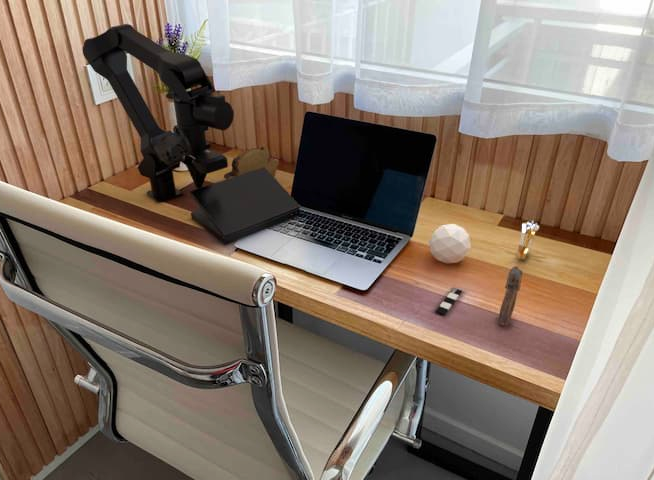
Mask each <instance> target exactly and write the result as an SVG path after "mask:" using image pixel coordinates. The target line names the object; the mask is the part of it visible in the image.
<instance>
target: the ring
mask: <svg viewBox="0 0 654 480" xmlns="http://www.w3.org/2000/svg"><path fill="white" fill-rule="evenodd" d="M534 221H535V220H533V219H532V220H531V221H529V220H527V222H522V224H521V227H522V228H521V236H520V239H519V240H520V241H519V245H518V249H517V255H516V256H517V259H520V260H525V259H526V257H527V255H528V253H529V251H530V249H531V247H532V245H533V241H534V238H535V234H536V232H537V231H538V230H539V229H540V225H538V223H537V222H535V223H534ZM526 234H527V235H526ZM526 236H527V239H526ZM525 240H526V241H525Z"/></svg>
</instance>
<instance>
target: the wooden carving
mask: <svg viewBox="0 0 654 480" xmlns="http://www.w3.org/2000/svg"><path fill="white" fill-rule="evenodd" d="M279 164H280V160H279V159H277V158H275V157H272V156H271V153H270V151H269V148H267V147H264V146H262V147H260V148H258V147H252V148H248V149H247V150H245V151H243V152H241V153H240V154H238V156H236V157H234V158H232V161H231V171H229V172H226V173H225V174H223V178H224V180H226V179H229V178H232V177H235V176H238V175H241V174H244V173H247V172H250V171H253V170H256V169H259V168H262V167H265V168H266V169H267V170H268V171H269V172H270V174H271V175H272V176H273V177H275V176H276V173H277V169H278V167H279Z"/></svg>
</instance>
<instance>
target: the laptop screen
mask: <svg viewBox="0 0 654 480" xmlns="http://www.w3.org/2000/svg"><path fill="white" fill-rule="evenodd" d="M189 195H190V196H191V198H192V199H193V200H194V201H195V203H196V204H197V205H198V206H199V207H200V209H202V210H203V211H204V212H205V214H206V215H207V216H208V217H209V219H210V220H211V221H212V222H213V224H214V225H215V226H216V227H217V229H218V230H219V231H220V232H221V234H222V235H223V236H224V237H227V236H230V235H232V234H235V233H238V232H240V231H243V230H245V229H248V228H250V227H253V226H255V225H258V224H261V223H263V222H266V221H268V220H271V219H273V218H276V217H279V216H281V215H284V214H286V213H289V212H291V211H294V210H296V209H300V208H301V205H300V204H299V203H298V202H297V200H296V199H294V197H293V196H292V195H291V194H290V193H289V192H288V191H287V190H286V189H285V188H284V187H283V185H282V184H281V183H280V182H279V181H278V180H277V178H276V177H275V176H272V175H271V174H270V172H269V171H268V170H267V169H266V168H265V167H262V168H259V169H256V170H253V171H250V172H247V173H244V174H241V175H238V176H235V177H232V178H229V179H224V180H221V181H217V182H214V183H211V184H208V185H205V186H202V187H201V188H196V189H193V190H190V191H189Z"/></svg>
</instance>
